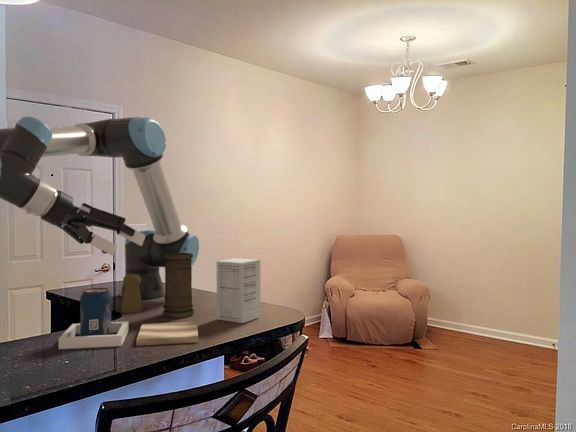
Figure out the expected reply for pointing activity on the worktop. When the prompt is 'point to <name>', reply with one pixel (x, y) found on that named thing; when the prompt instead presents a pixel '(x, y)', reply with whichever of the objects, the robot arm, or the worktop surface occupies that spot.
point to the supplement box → (238, 290)
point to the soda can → (95, 312)
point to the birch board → (167, 333)
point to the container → (178, 285)
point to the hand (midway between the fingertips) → (128, 245)
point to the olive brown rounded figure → (132, 294)
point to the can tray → (93, 337)
